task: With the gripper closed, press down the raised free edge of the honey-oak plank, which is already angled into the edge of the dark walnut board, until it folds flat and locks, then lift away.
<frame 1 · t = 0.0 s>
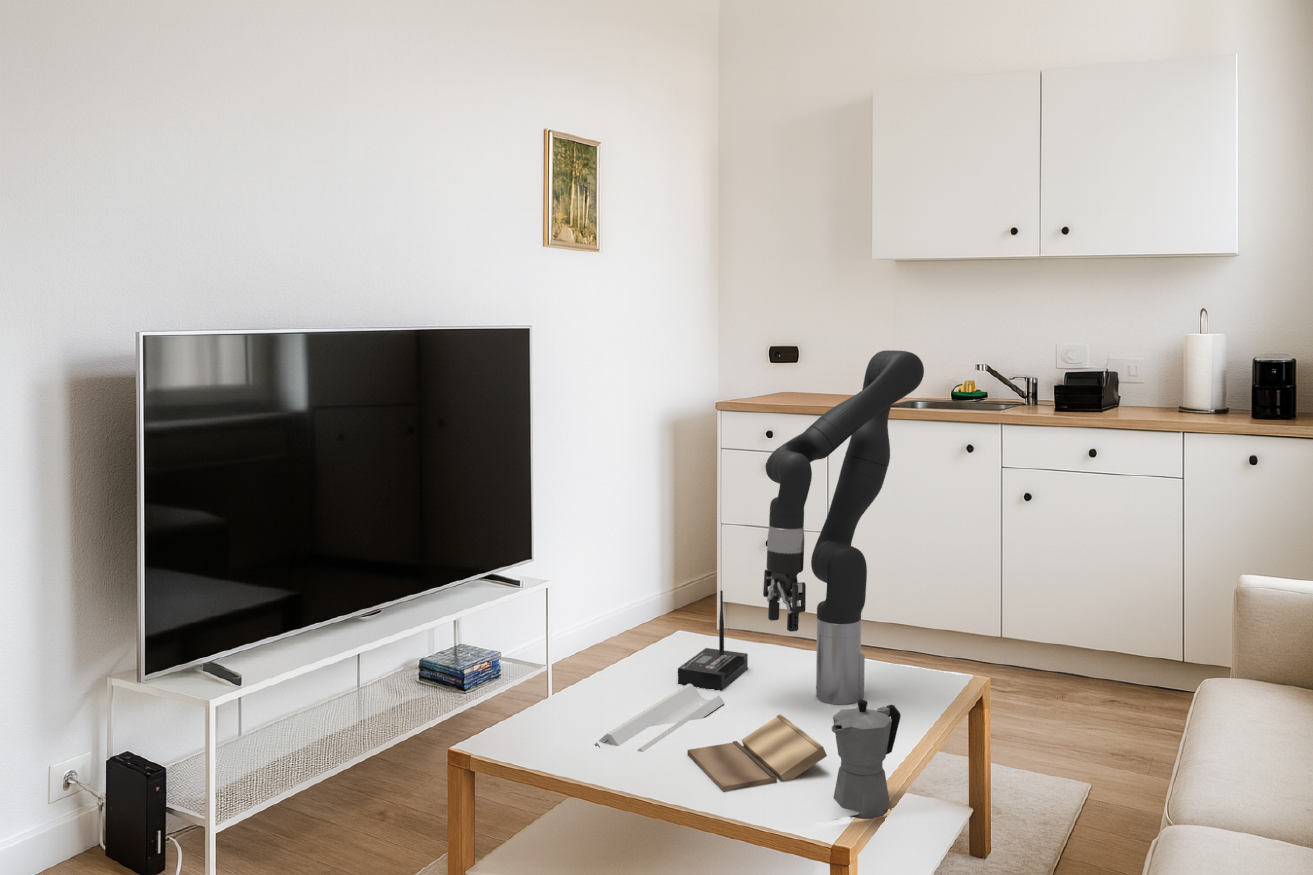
hand: (782, 625, 209), 17 cm above the table, tool pointing down, fingers open, 8 cm apart
wireless controller: (716, 675, 231), on the table
coffeepot: (865, 805, 167), on the table
crown molding: (661, 727, 202), on the table
oak plank: (782, 747, 182), point 3 cm above the table, hinge at 25.0°
walnut board: (730, 773, 179), on the table
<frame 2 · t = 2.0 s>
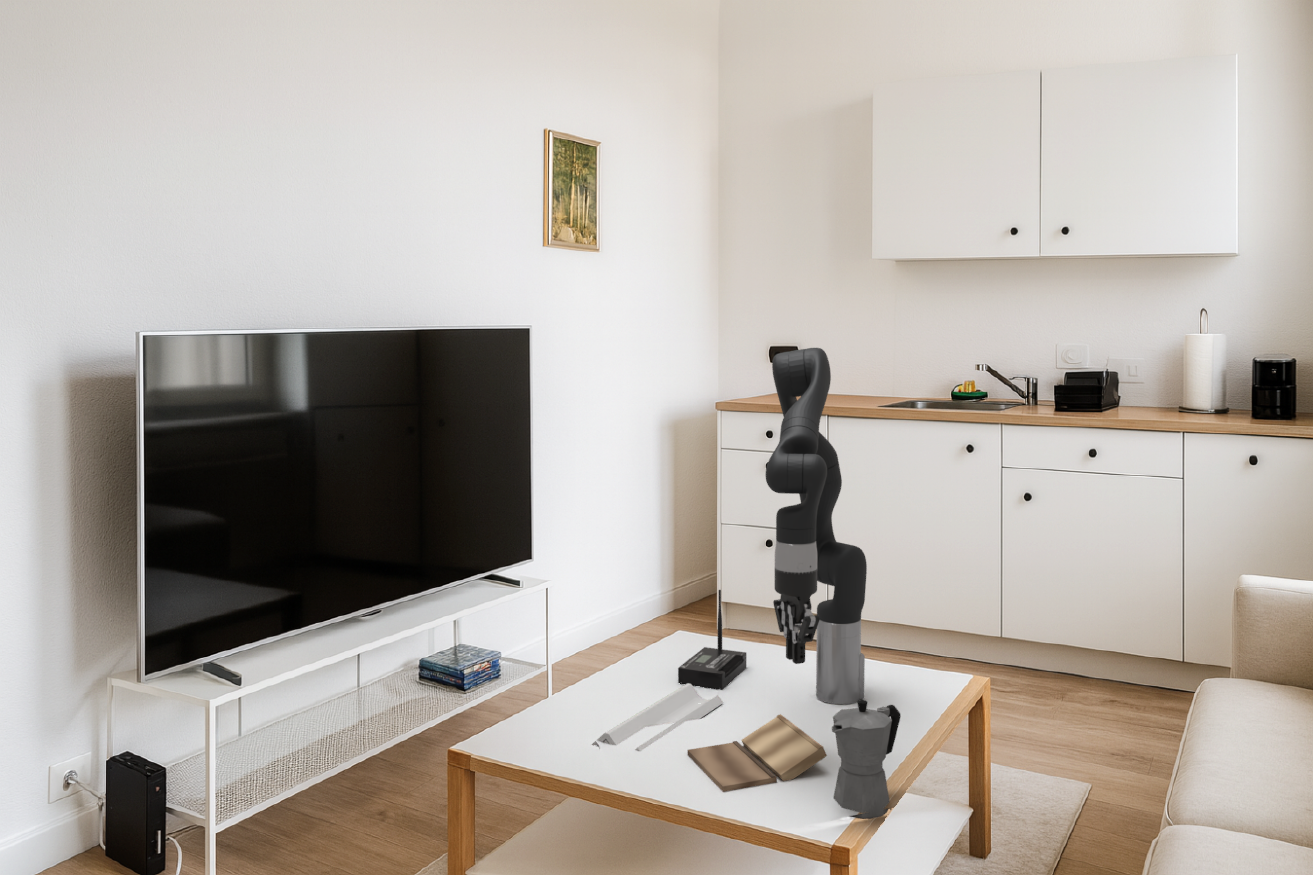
hand: (795, 660, 181), 19 cm above the table, tool pointing down, fingers closed
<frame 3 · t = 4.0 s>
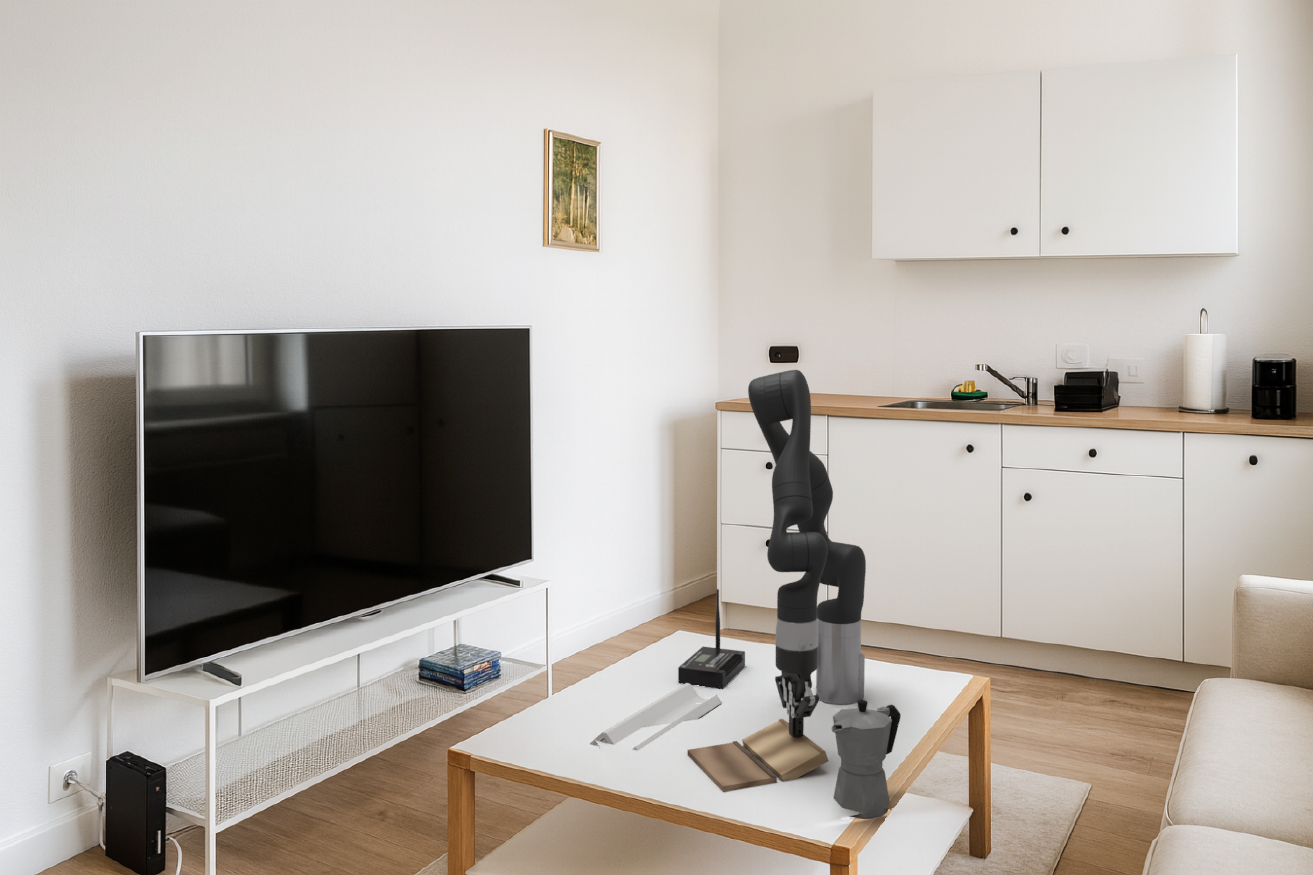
hand: (796, 735, 183), 5 cm above the table, tool pointing down, fingers closed
oak plank: (783, 749, 182), point 3 cm above the table, hinge at 18.8°, touching gripper
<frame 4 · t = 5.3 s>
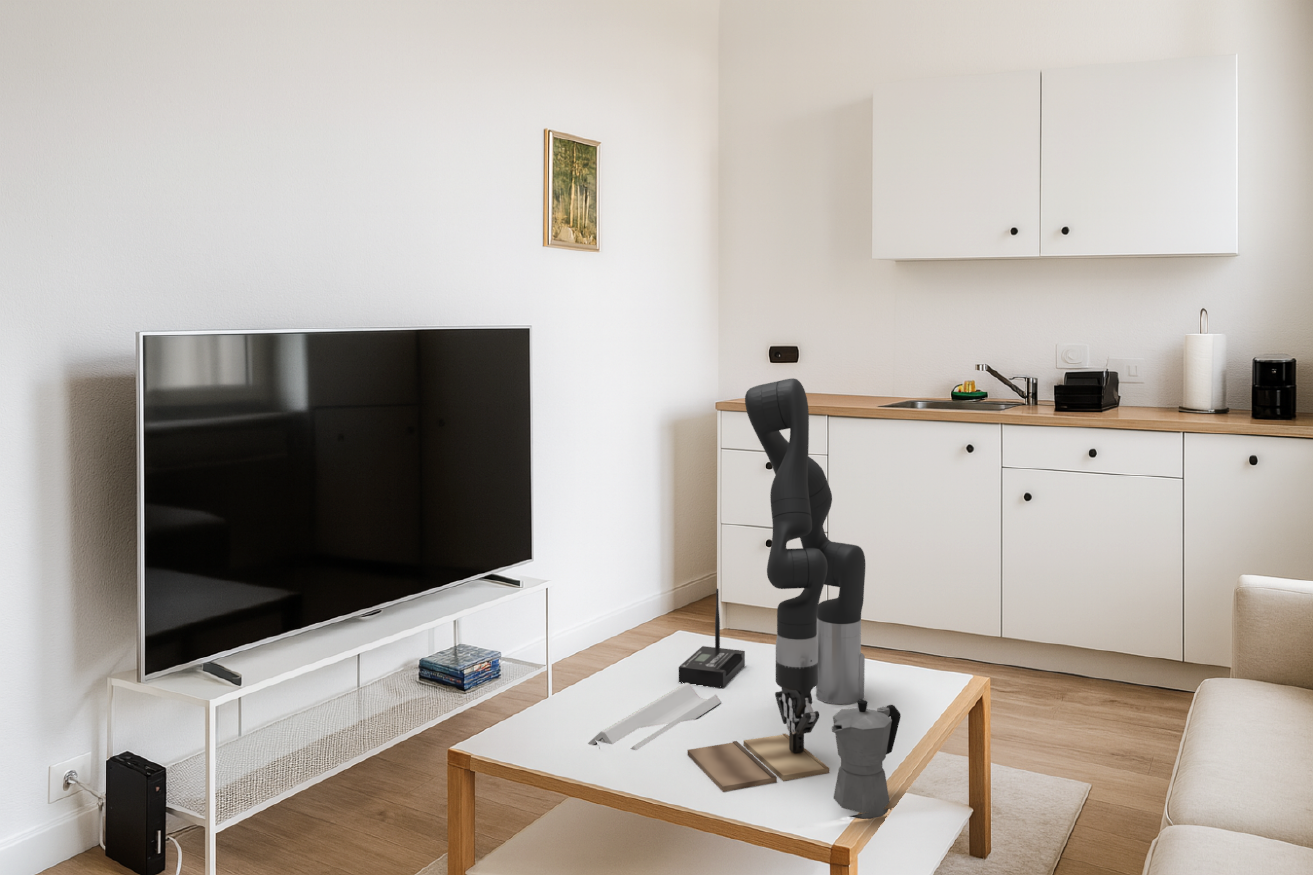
hand: (796, 751, 183), 2 cm above the table, tool pointing down, fingers closed
oak plank: (785, 758, 183), point 1 cm above the table, hinge at -0.9°
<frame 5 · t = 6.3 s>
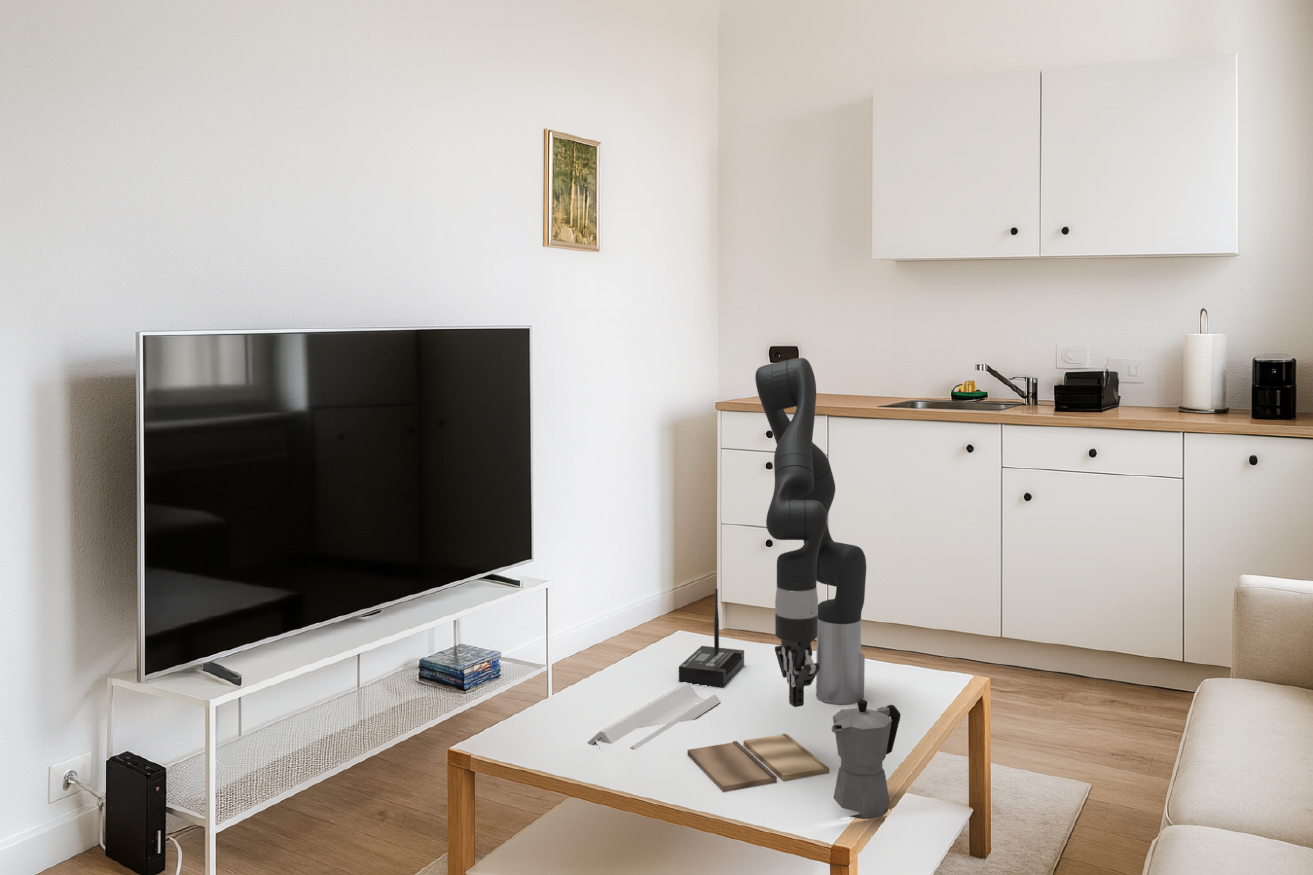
hand: (796, 704, 182), 11 cm above the table, tool pointing down, fingers closed
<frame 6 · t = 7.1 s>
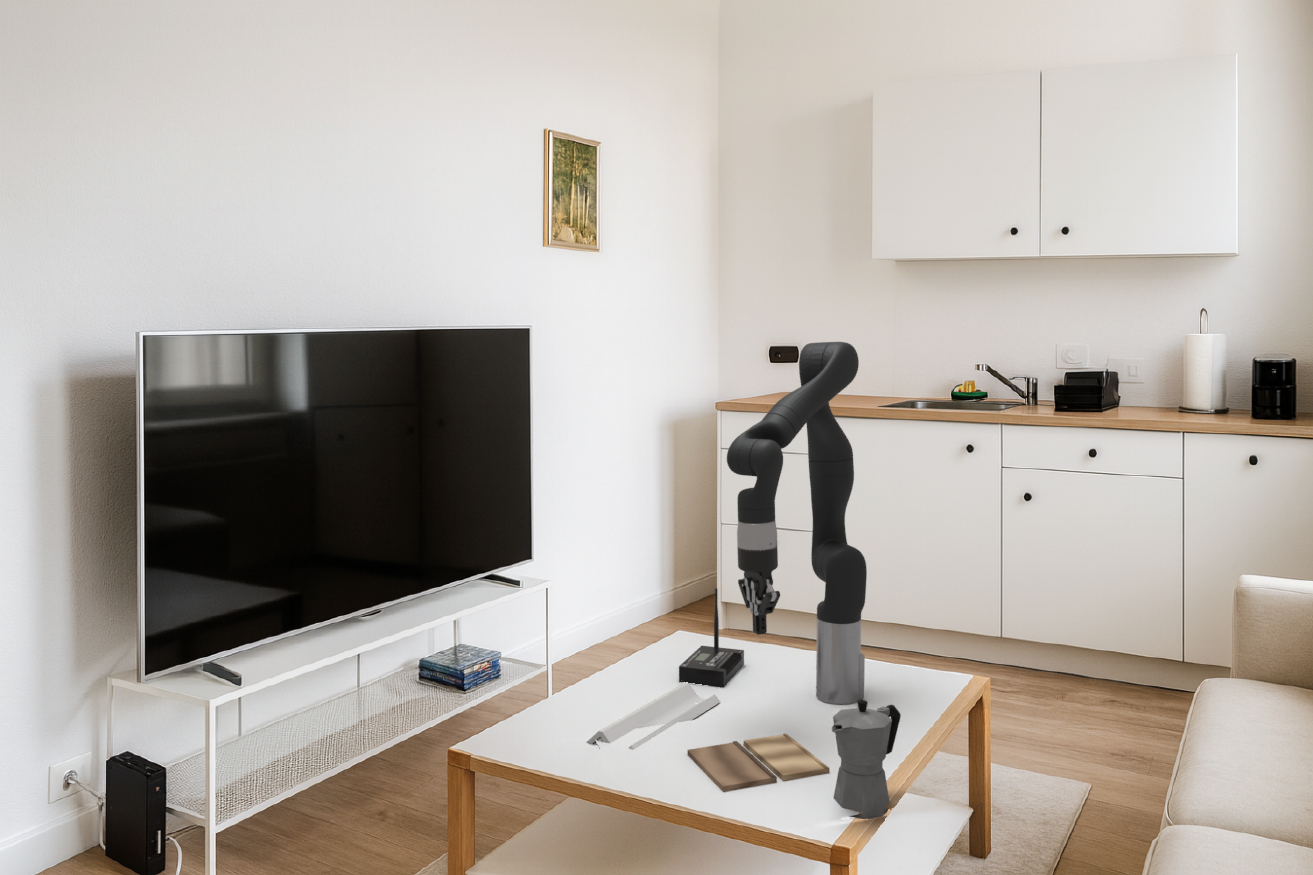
hand: (759, 632, 193), 20 cm above the table, tool pointing down, fingers closed
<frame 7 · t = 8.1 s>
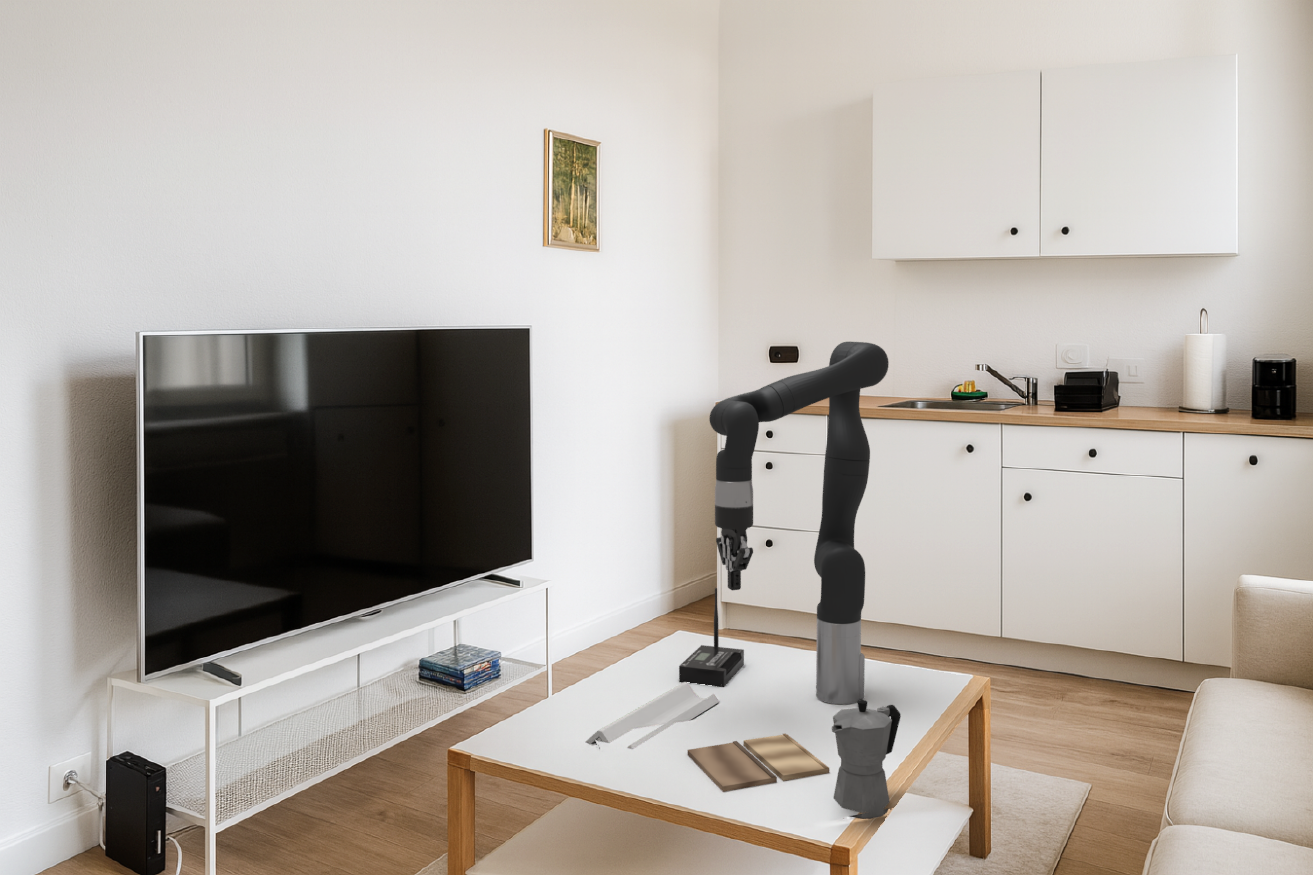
hand: (734, 589, 200), 27 cm above the table, tool pointing down, fingers closed
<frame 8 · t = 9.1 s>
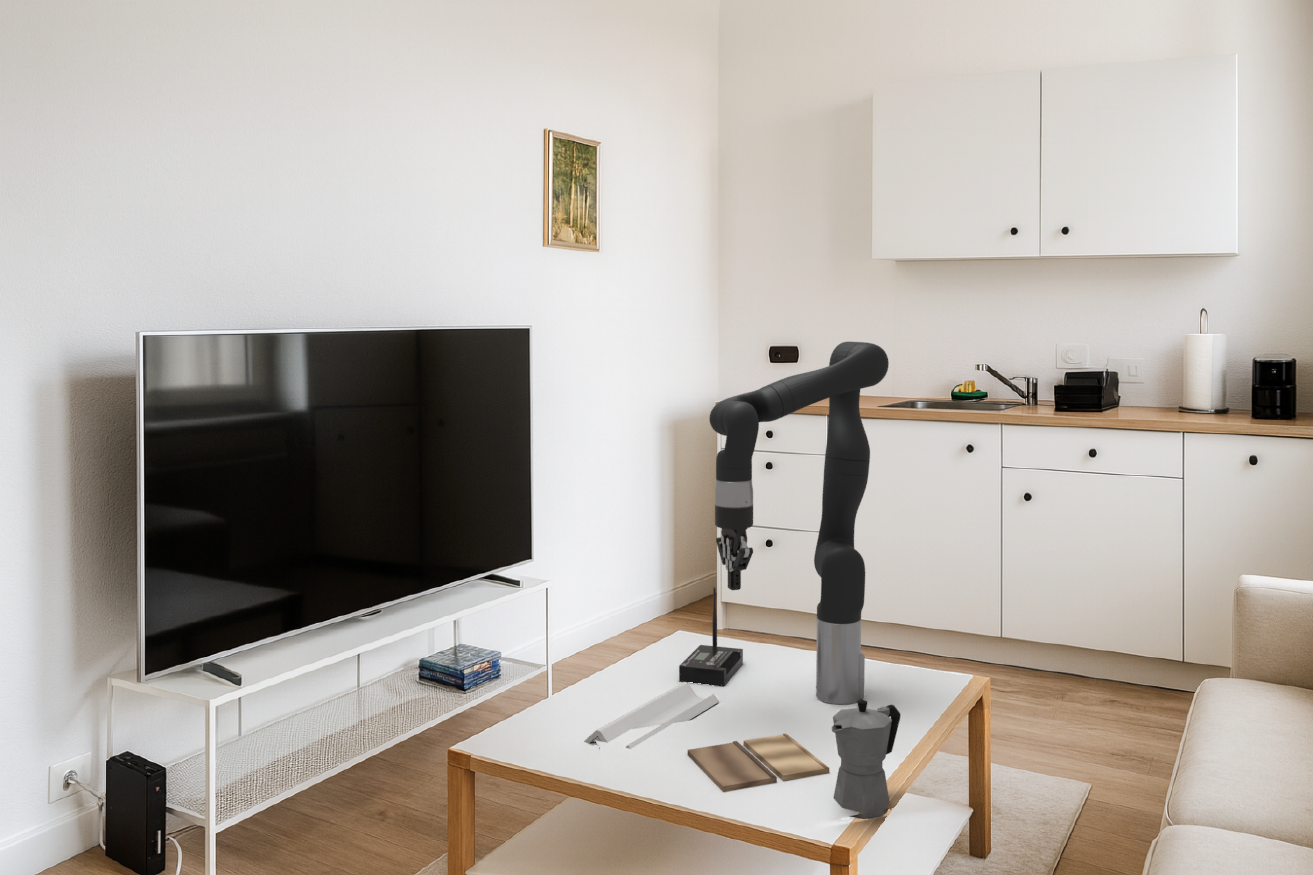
hand: (734, 588, 200), 27 cm above the table, tool pointing down, fingers closed
at the end: oak plank at -1° (first picture: +25°) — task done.
